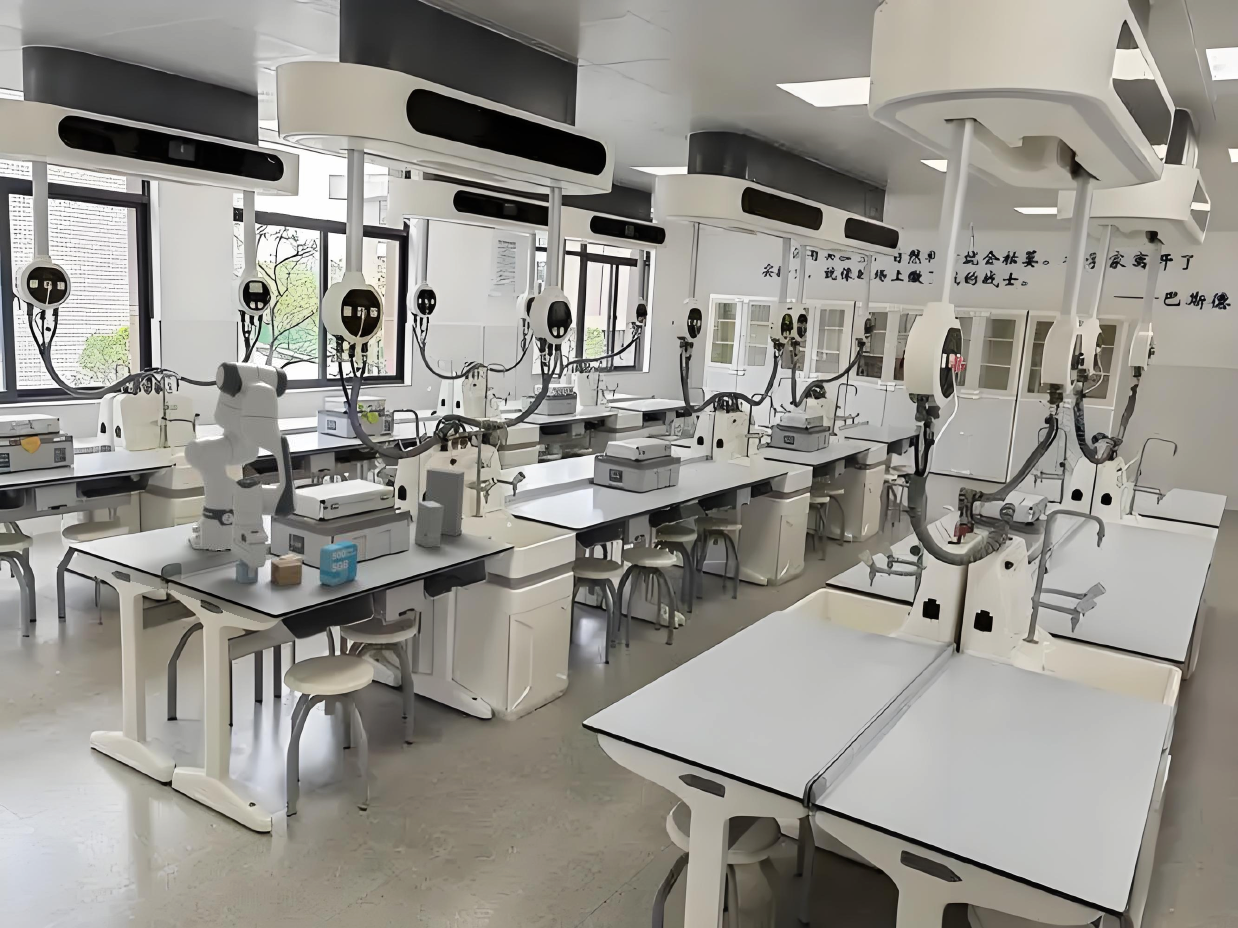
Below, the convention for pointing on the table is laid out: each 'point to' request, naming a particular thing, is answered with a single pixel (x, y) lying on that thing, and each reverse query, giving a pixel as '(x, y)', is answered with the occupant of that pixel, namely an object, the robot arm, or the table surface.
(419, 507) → the skincare box
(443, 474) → the tall grey upright box
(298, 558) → the sand block
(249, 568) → the robot arm
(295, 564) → the cardboard box
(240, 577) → the slate-blue block
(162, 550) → the table surface
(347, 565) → the data package
